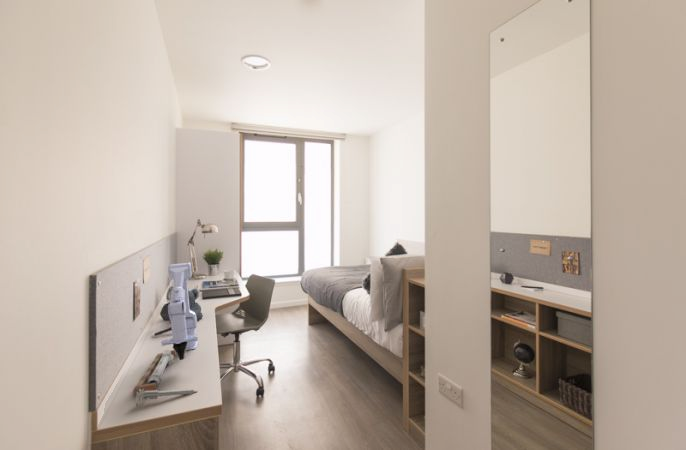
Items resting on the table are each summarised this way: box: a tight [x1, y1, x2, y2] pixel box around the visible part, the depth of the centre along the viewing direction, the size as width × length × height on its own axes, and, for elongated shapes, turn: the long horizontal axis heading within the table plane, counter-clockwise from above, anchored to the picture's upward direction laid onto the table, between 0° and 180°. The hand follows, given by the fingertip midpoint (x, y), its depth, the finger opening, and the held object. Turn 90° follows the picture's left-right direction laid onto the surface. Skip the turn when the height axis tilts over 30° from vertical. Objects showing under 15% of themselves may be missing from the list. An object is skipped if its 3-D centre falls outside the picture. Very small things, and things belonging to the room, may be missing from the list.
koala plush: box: [188, 287, 203, 321], centre depth 214 cm, size 17×18×20 cm
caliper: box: [135, 388, 198, 407], centre depth 125 cm, size 20×1×6 cm, turn 111°
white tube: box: [147, 349, 175, 388], centre depth 145 cm, size 5×7×25 cm
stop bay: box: [133, 349, 177, 397], centre depth 145 cm, size 32×8×3 cm, turn 14°
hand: (181, 358), depth 147 cm, fingers closed
